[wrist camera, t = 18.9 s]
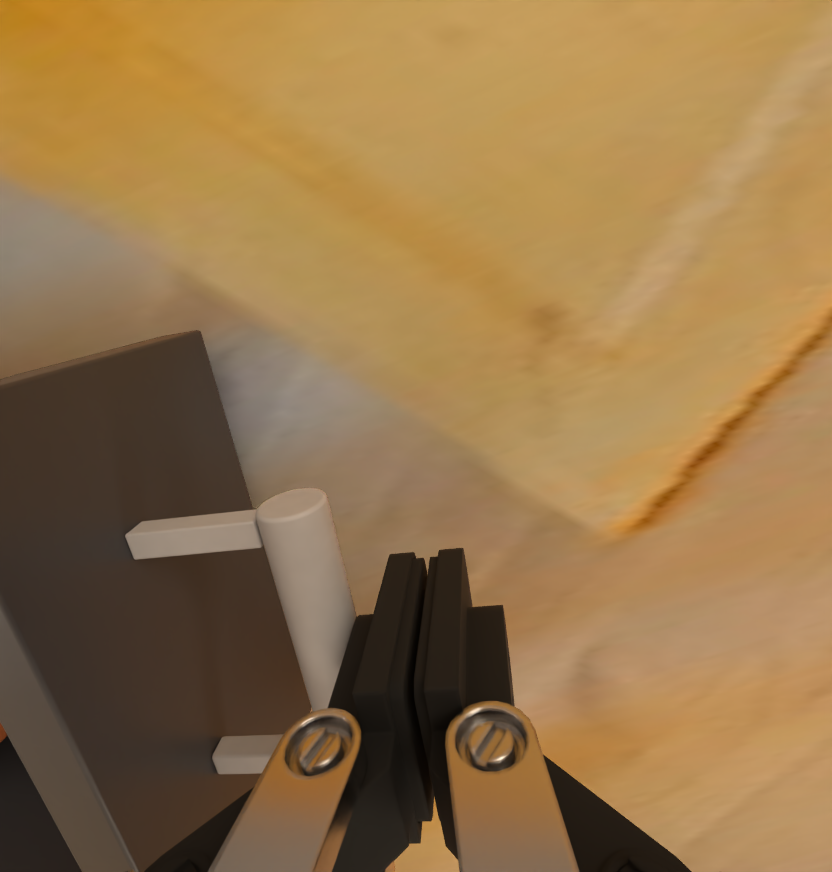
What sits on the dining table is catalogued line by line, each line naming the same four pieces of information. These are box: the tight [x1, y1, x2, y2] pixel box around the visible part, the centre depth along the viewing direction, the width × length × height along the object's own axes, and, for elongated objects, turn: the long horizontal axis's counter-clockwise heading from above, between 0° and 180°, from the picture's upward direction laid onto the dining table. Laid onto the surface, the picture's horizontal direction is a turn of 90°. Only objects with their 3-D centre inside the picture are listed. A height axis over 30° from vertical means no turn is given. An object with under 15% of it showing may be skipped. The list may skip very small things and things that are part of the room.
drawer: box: [0, 330, 357, 872], centre depth 13 cm, size 20×13×8 cm
